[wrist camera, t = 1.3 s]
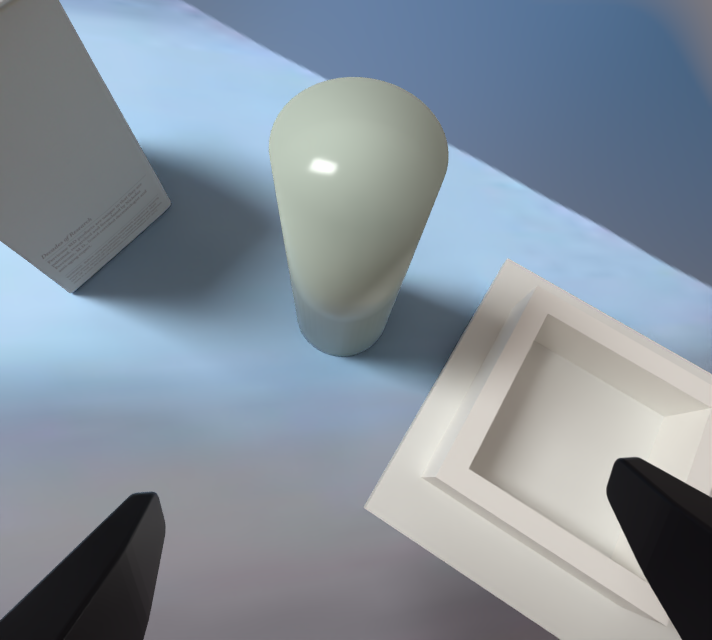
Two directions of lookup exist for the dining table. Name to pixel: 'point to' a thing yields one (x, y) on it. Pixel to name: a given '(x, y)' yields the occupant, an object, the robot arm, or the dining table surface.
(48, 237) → the supplement box
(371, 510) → the dish drying rack
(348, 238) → the sage green domed cylinder
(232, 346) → the dining table surface
